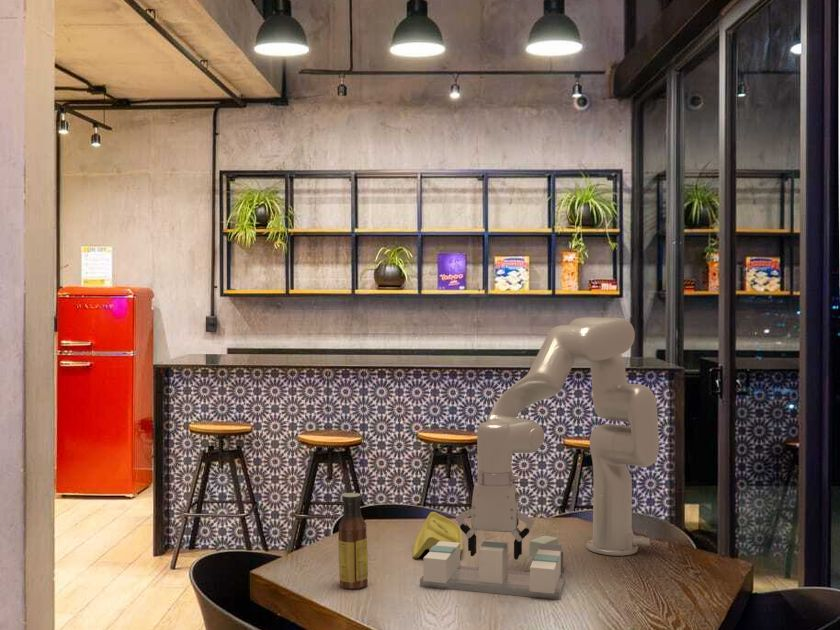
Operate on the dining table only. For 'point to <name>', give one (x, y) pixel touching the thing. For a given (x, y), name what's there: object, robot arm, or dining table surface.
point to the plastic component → (436, 533)
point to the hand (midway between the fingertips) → (494, 556)
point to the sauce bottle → (352, 544)
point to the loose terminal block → (541, 540)
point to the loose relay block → (553, 548)
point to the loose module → (493, 561)
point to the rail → (511, 585)
